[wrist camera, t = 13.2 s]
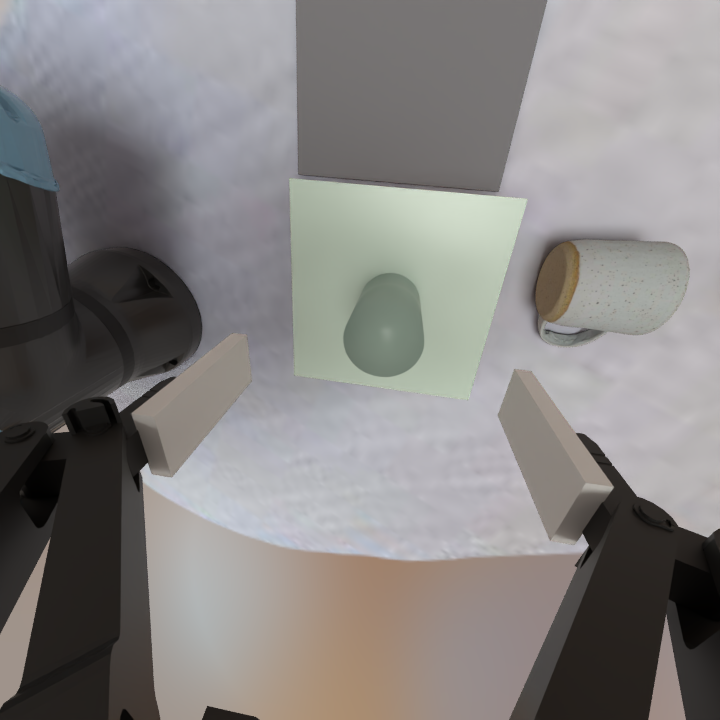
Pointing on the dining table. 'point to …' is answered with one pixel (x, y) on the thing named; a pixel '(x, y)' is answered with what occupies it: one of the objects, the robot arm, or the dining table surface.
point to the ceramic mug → (609, 288)
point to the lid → (396, 283)
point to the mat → (412, 88)
